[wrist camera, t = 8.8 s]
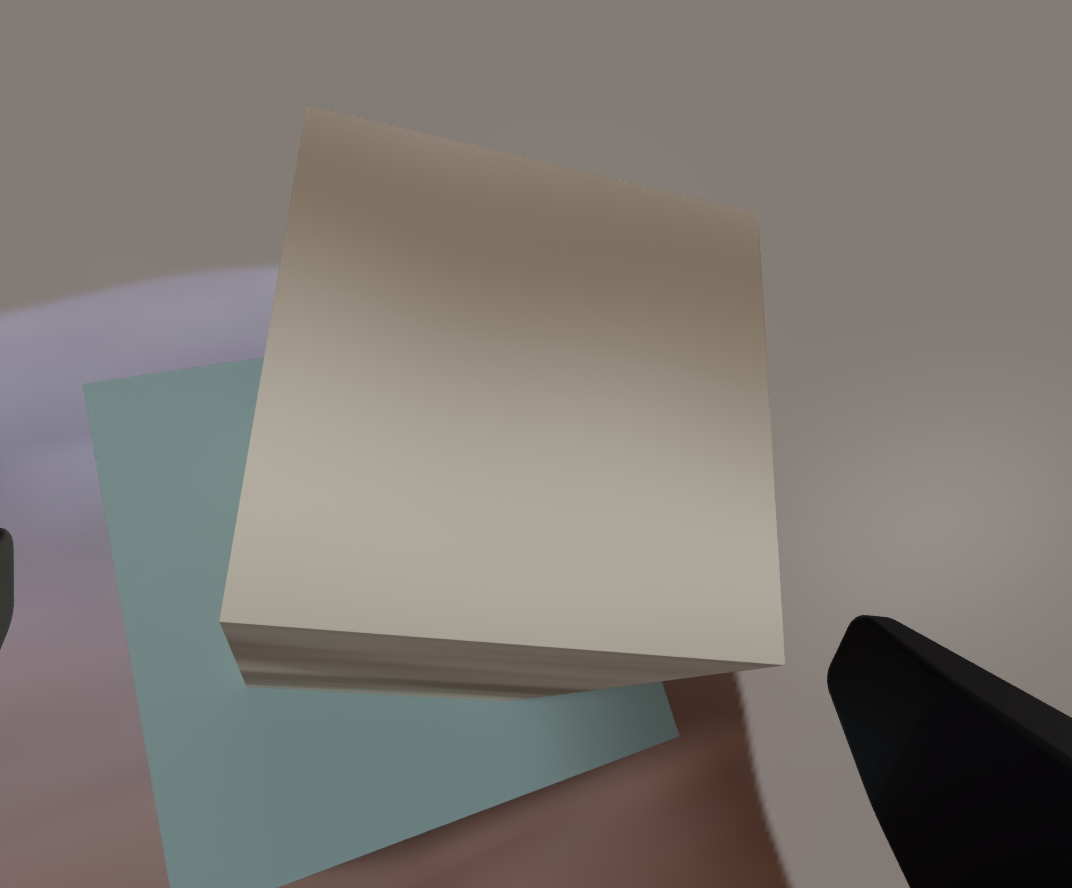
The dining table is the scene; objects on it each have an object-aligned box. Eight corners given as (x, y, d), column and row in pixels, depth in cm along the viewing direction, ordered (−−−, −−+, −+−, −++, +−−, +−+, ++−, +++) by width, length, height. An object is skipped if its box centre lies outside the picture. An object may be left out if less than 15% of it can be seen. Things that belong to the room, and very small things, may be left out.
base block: (609, 735, 21) (679, 736, 18) (194, 885, 18) (176, 925, 14) (501, 380, 23) (544, 316, 20) (115, 447, 20) (82, 384, 16)
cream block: (505, 701, 17) (786, 665, 8) (246, 686, 15) (218, 621, 6) (517, 467, 18) (757, 213, 9) (285, 436, 17) (307, 105, 8)
